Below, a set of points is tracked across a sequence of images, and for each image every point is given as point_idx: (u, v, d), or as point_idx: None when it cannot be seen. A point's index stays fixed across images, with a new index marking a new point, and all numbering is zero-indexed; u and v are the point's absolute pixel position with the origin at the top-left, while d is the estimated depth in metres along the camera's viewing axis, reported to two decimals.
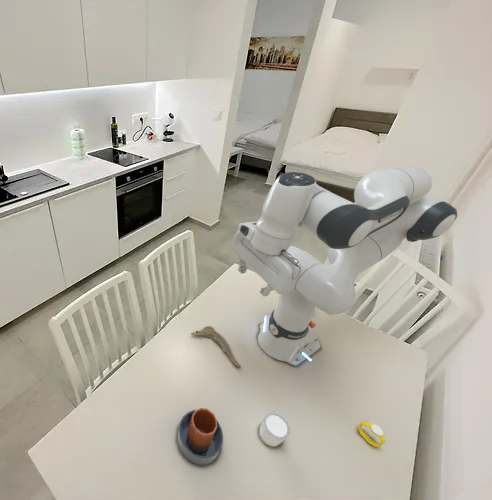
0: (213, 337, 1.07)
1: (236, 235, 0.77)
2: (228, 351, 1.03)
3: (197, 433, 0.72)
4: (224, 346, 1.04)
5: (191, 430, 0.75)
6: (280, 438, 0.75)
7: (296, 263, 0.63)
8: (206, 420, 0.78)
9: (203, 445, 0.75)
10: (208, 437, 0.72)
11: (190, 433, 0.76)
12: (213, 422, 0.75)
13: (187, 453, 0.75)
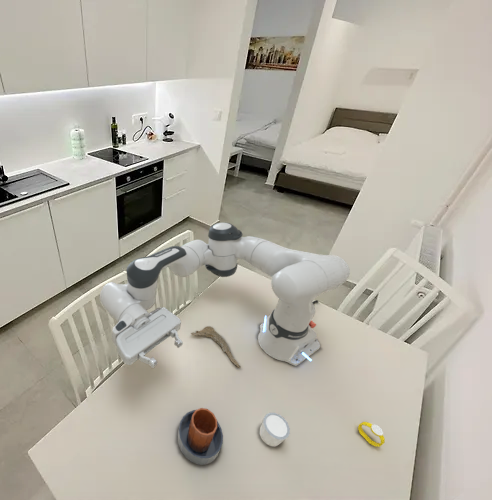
0: (213, 337, 1.07)
1: (119, 341, 0.76)
2: (228, 351, 1.03)
3: (197, 433, 0.72)
4: (224, 346, 1.04)
5: (191, 430, 0.75)
6: (280, 438, 0.75)
7: (159, 308, 0.88)
8: (206, 420, 0.78)
9: (203, 445, 0.75)
10: (208, 437, 0.72)
11: (190, 433, 0.76)
12: (213, 422, 0.75)
13: (187, 453, 0.75)
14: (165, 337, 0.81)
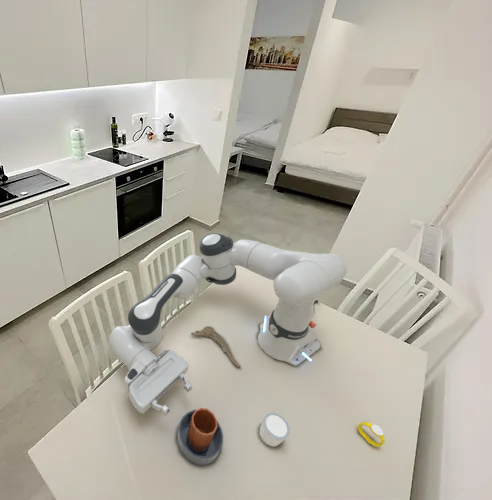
0: (213, 337, 1.07)
1: (132, 390, 0.79)
2: (228, 351, 1.03)
3: (197, 433, 0.72)
4: (224, 346, 1.04)
5: (191, 430, 0.75)
6: (280, 438, 0.75)
7: (167, 350, 0.92)
8: (206, 420, 0.78)
9: (203, 445, 0.75)
10: (208, 437, 0.72)
11: (190, 433, 0.76)
12: (213, 422, 0.75)
13: (187, 453, 0.75)
14: (174, 381, 0.85)
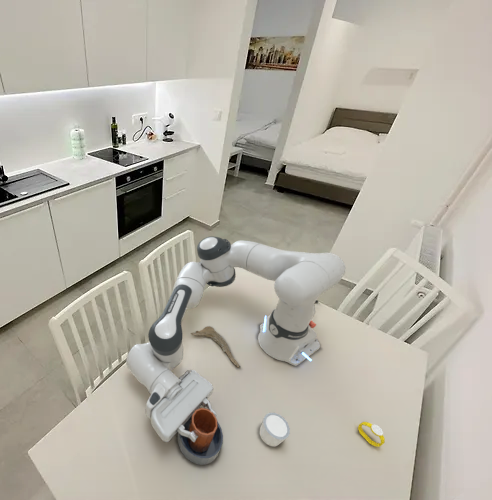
0: (213, 337, 1.07)
1: (155, 417, 0.74)
2: (228, 351, 1.03)
3: (197, 433, 0.72)
4: (224, 346, 1.04)
5: (191, 430, 0.75)
6: (280, 438, 0.75)
7: (189, 370, 0.87)
8: (206, 420, 0.78)
9: (203, 445, 0.75)
10: (208, 437, 0.72)
11: None
12: (213, 422, 0.75)
13: (187, 453, 0.75)
14: (199, 405, 0.80)
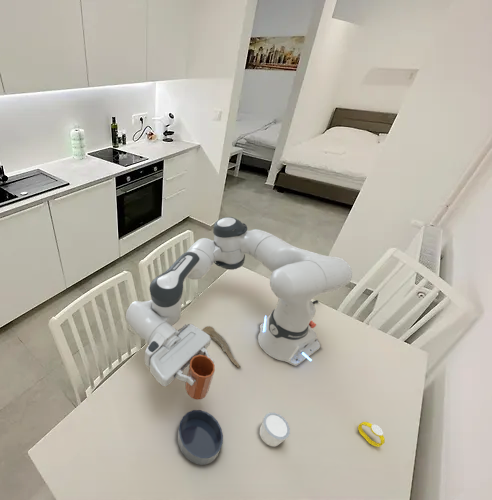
0: (213, 337, 1.07)
1: (154, 363, 0.76)
2: (228, 351, 1.03)
3: (195, 376, 0.74)
4: (224, 346, 1.04)
5: (189, 375, 0.76)
6: (280, 438, 0.75)
7: None
8: (204, 368, 0.80)
9: (201, 390, 0.76)
10: (206, 380, 0.73)
11: None
12: (211, 368, 0.77)
13: (187, 453, 0.75)
14: (196, 355, 0.82)
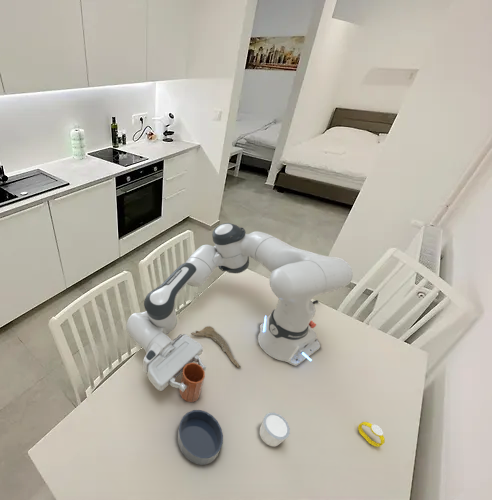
0: (213, 337, 1.07)
1: (151, 370, 0.85)
2: (228, 351, 1.03)
3: (187, 382, 0.83)
4: (224, 346, 1.04)
5: (182, 381, 0.86)
6: (280, 438, 0.75)
7: None
8: (196, 374, 0.89)
9: (193, 394, 0.86)
10: (197, 385, 0.83)
11: None
12: (201, 374, 0.86)
13: (187, 453, 0.75)
14: (189, 362, 0.91)
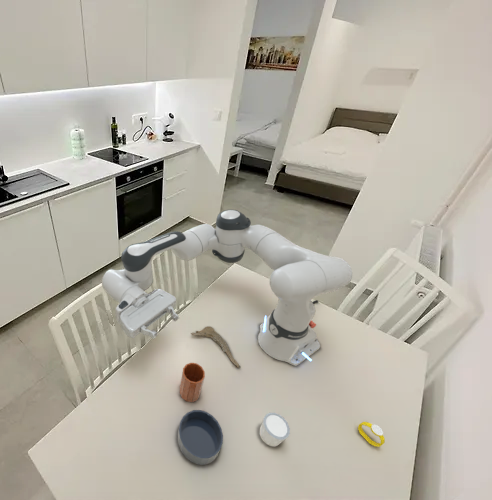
0: (213, 337, 1.07)
1: (123, 318, 0.85)
2: (228, 351, 1.03)
3: (187, 382, 0.83)
4: (224, 346, 1.04)
5: (182, 381, 0.86)
6: (280, 438, 0.75)
7: (156, 289, 0.98)
8: (196, 374, 0.89)
9: (193, 394, 0.86)
10: (197, 385, 0.83)
11: (181, 384, 0.87)
12: (201, 374, 0.86)
13: (187, 453, 0.75)
14: (163, 313, 0.91)
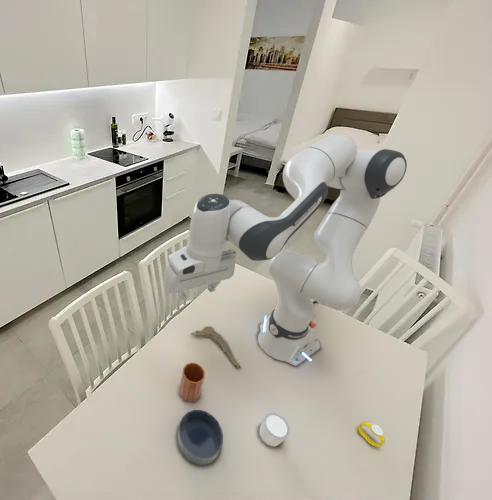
0: (213, 337, 1.07)
1: (175, 281, 0.71)
2: (228, 351, 1.03)
3: (187, 382, 0.83)
4: (224, 346, 1.04)
5: (182, 381, 0.86)
6: (280, 438, 0.75)
7: (232, 251, 0.76)
8: (196, 374, 0.89)
9: (193, 394, 0.86)
10: (197, 385, 0.83)
11: (181, 384, 0.87)
12: (201, 374, 0.86)
13: (187, 453, 0.75)
14: None
